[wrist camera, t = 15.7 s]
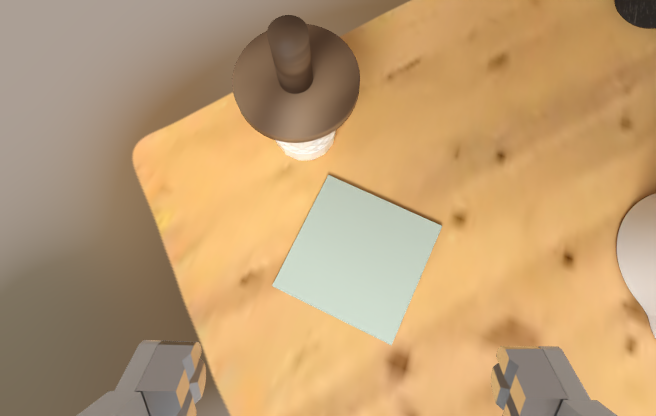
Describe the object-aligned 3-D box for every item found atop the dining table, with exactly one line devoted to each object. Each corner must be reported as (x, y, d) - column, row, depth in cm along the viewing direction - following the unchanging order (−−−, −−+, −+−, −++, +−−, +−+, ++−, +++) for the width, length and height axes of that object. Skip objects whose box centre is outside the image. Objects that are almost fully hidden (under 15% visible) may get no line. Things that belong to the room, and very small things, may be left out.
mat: (441, 227, 44) (442, 225, 44) (390, 345, 42) (391, 345, 41) (328, 176, 46) (328, 174, 46) (272, 286, 43) (272, 285, 43)
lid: (377, 55, 39) (386, -3, 32) (329, 161, 36) (327, 123, 29) (267, 16, 40) (252, -48, 33) (214, 116, 37) (185, 69, 30)
